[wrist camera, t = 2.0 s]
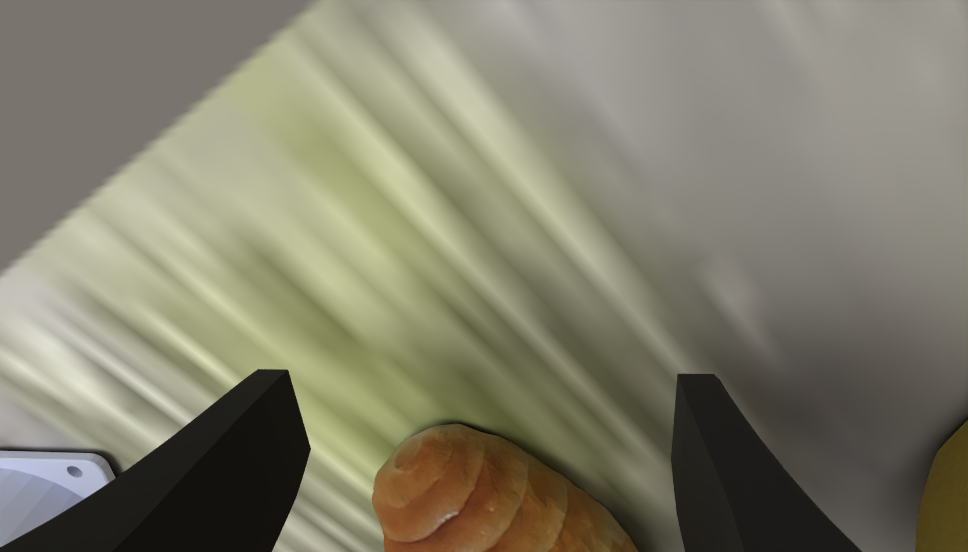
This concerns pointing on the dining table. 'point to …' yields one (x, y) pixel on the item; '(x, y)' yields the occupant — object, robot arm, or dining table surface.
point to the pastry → (485, 499)
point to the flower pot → (946, 499)
